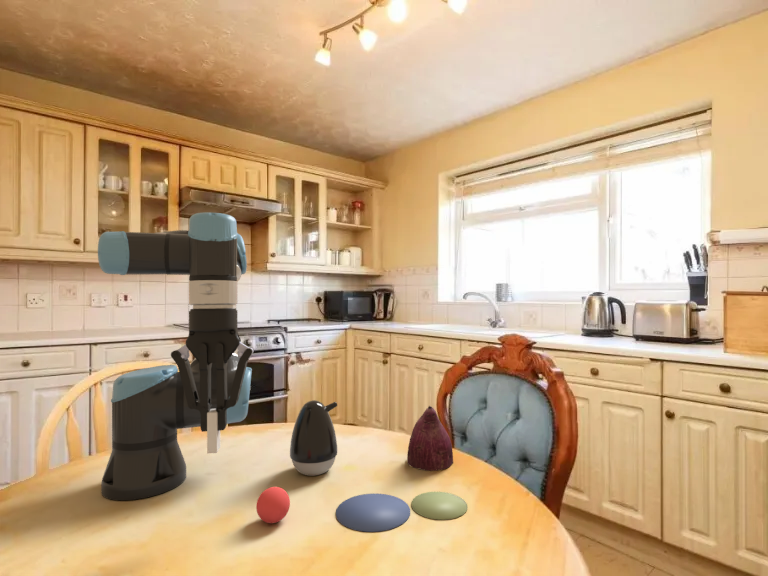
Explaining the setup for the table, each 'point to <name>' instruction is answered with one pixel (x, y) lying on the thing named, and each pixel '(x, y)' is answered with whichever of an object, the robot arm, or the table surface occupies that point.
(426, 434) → the vegetable
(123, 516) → the table surface
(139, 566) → the table surface
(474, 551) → the table surface
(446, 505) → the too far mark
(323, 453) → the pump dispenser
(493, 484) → the table surface
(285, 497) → the ball
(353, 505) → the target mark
